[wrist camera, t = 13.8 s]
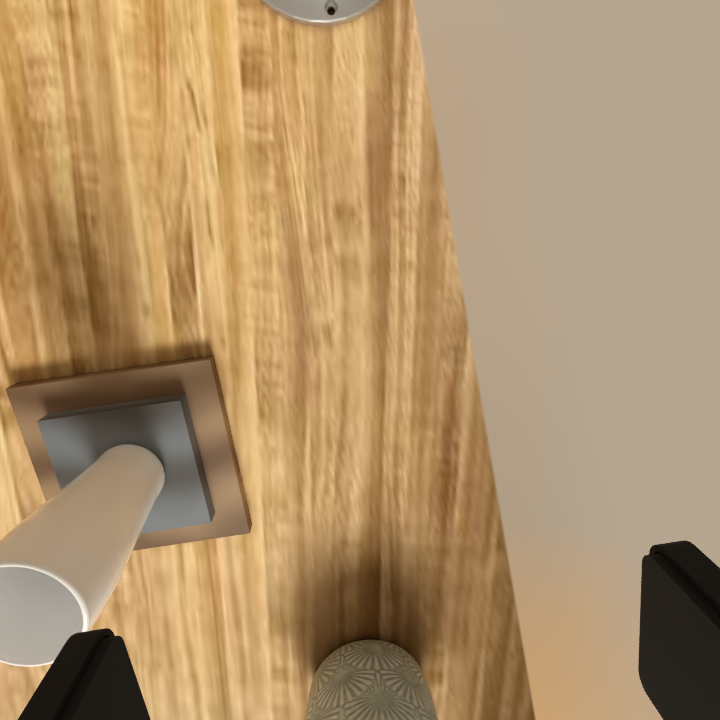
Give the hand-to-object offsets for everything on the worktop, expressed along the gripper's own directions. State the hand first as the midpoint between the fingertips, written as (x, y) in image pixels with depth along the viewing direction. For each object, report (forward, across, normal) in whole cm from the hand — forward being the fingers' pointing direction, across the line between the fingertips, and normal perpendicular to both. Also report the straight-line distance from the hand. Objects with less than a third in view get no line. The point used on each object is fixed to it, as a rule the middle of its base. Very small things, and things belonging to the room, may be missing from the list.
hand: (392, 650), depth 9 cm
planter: (+33, +3, +37) cm, 49 cm away
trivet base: (+32, +19, +10) cm, 39 cm away
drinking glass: (+30, +18, +10) cm, 36 cm away
